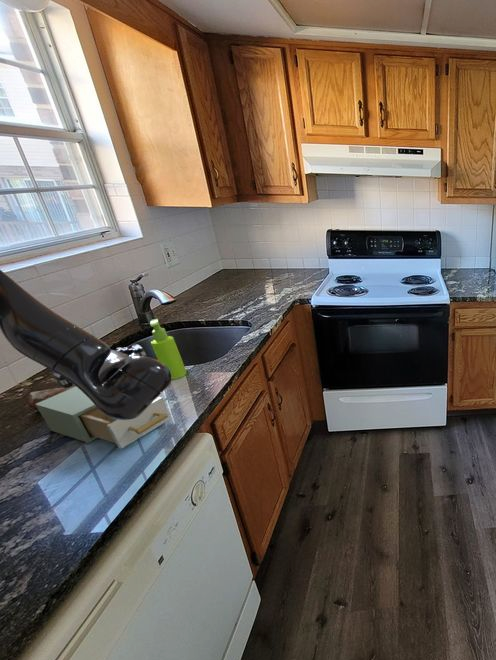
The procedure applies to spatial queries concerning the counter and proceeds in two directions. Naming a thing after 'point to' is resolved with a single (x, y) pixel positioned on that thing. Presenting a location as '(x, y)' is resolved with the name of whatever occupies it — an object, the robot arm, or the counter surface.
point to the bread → (44, 395)
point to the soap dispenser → (167, 350)
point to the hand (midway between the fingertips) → (96, 360)
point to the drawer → (125, 423)
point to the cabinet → (67, 413)
